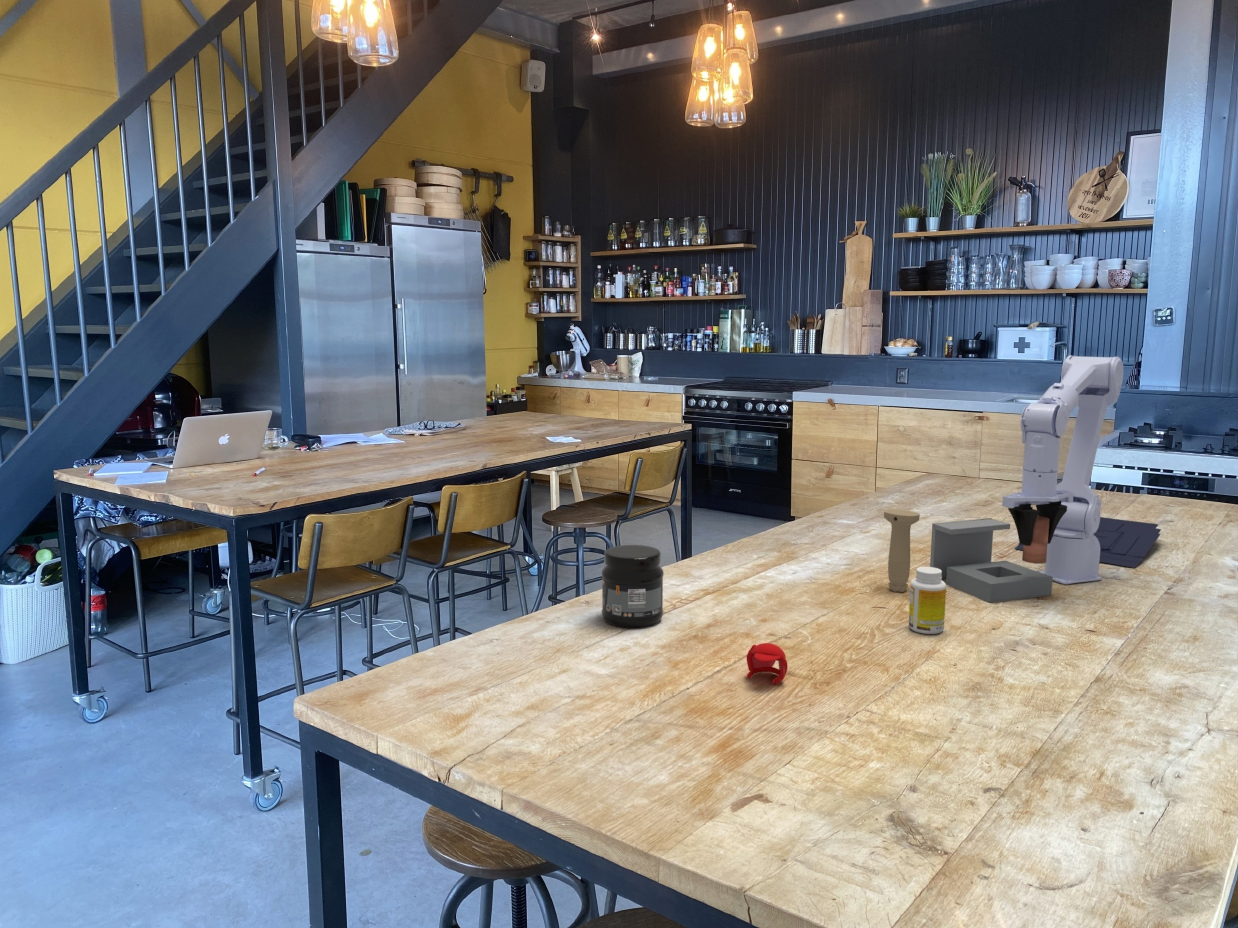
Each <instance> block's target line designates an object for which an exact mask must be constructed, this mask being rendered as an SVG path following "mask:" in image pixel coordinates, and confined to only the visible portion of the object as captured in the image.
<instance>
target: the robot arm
mask: <svg viewBox="0 0 1238 928" xmlns="http://www.w3.org/2000/svg"><path fill="white" fill-rule="evenodd" d="M1060 373H1061V375H1060V376H1061V381H1060V382H1059V383H1058V382H1054V383H1053V384H1052V385H1051V386H1050V387H1048V389H1047V390H1046V391H1045V392H1044V394H1042V396H1041V397H1040V398H1039V399H1038V400H1037V402H1031V403H1029V404H1027V405H1025V406H1024V407H1023V410H1022V412H1021V416H1020V417H1021V418H1020V429H1021V435H1022V437H1021V441H1022V444H1024V449H1023V464H1022V479H1021V491H1019V492H1015V493H1012V494H1005V495H1002V501H1001V502H1002V503H1001V506H1002V507H1004V508H1007V509H1008V511H1009V514H1010V515H1011V517H1012V519H1013V522H1014V524H1015V527H1016V532H1017V537H1018V541H1019V542H1018V544H1019V543H1020V544H1023V545H1026V546H1031V543H1032V538H1033V530H1034V525H1035V522H1036V519H1037V516H1043V517H1047V518H1049V532H1048V545H1047V558H1046V563H1044V569H1043V570H1036V571H1037V572H1040V573H1043V574H1046V575H1049V576H1052V577H1053V581H1054V582H1056V583H1059V584H1062V585H1069V584H1077V583H1085V582H1086V583H1087V582H1095V581H1101V580H1102V577H1101V576H1099V569H1100V562H1099V559H1100V544H1099V541H1098V539H1097V538H1096V537H1095V536H1094V535H1093V534H1094V533H1095V532H1096V531H1097V529H1098V527H1099V523H1100V517H1101V508H1102V501H1101V497H1099V495H1098V494H1097V493H1096V492H1095V491H1094V490H1093V489H1091V488H1090V487H1089V486H1090V483H1091V477H1092V473H1093V469H1094V466H1095V465H1094V464H1095V460H1096V455H1097V452H1098V446H1099V441H1100V439H1101V438H1100V437H1101V432H1102V429H1103V423H1104V419H1105V417H1106V413H1107V411H1108V408H1109V407H1110V406H1111V405H1114V404H1116V403H1117V402H1118V399H1119V397H1120V394H1121V390H1122V386H1123V385H1122V384H1123V381H1124V380H1123V379H1124V363H1123V361H1122V359H1121V358H1120V357H1119V356H1114V357H1110V356H1109V357H1107V356H1106V357H1105V356H1077V355H1076V356H1075V355H1071V354H1070V355H1068V356H1067V357H1066V358H1065V360H1064V361H1063V363H1062V366H1061V371H1060ZM1076 407H1078V410H1077V414H1076V419H1075V423H1074V428H1073V433H1072V437H1071V440H1070V445H1069V449H1068V455H1067V458H1066V462H1065V466H1064V471H1063V476H1062V481H1061V482H1059V483H1058V473H1059V461H1060V460H1059V459H1060V446H1061V437H1062V436H1064V435H1065V432H1066V429H1067V425H1068V423H1069V420H1070V415H1071V414H1072V412H1073V411H1074V410H1075V408H1076ZM1033 506H1035V507H1036V508H1035V509H1034V508H1033ZM1053 581H1052V582H1053Z"/></svg>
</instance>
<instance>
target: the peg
mask: <svg viewBox="0 0 1238 928" xmlns="http://www.w3.org/2000/svg"><path fill="white" fill-rule="evenodd" d="M1048 532H1049V518H1047V517H1043V516H1037V519H1036V522H1035V525H1034V530H1033V538H1032V543H1031V546H1026V545H1023V550H1022V560H1021V561H1023V562H1025V563H1029V564H1037V565H1038V564H1039V565H1040V564H1041V565H1043V564H1045V563H1046V558H1047V545H1048Z"/></svg>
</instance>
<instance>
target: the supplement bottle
mask: <svg viewBox="0 0 1238 928" xmlns="http://www.w3.org/2000/svg"><path fill="white" fill-rule="evenodd" d="M942 579H943V578H942V571H941V570H940V569H938V568H934V567H930V566H921V567H917V568H916V571H915V578H913V579H912V580H911V581H910V588H909V589H910V590H909V592H910V593H909V609H908V627H909V628H910V629H911V630H912V631H913V632H915V633H919V634H923V635H924V634H925V635H937V634H940V633H942V632H943V631H944V629H945V617H946V600H947V599H946V598H947V597H946V596H947V585H946V582H944V581H943V580H942Z"/></svg>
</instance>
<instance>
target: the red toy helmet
mask: <svg viewBox="0 0 1238 928" xmlns="http://www.w3.org/2000/svg"><path fill="white" fill-rule="evenodd" d="M776 661H777V662H778V668H777V667H774V665H775V663H776ZM746 664H747V669H748V671H749V672H747V674H746V678H747V679H750V678H752V677H753V676H754V675H756V674H758V673H759V674H760V673H772V674H775V675H777V677H775V678H774V679H773V680H772V684H773V685H778V684H780V682H782V681H783V679H785V676H786V675H787V672H788V666H789V665H788V662H787V656H786V654H785V652H784V650H783V648H781V647H780V646H778V645H777V644H774V643H769V642H763V643H762V642H761V643H759V644H752V646H751V647H750V648H749V650H748V652H747V653H746Z"/></svg>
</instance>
